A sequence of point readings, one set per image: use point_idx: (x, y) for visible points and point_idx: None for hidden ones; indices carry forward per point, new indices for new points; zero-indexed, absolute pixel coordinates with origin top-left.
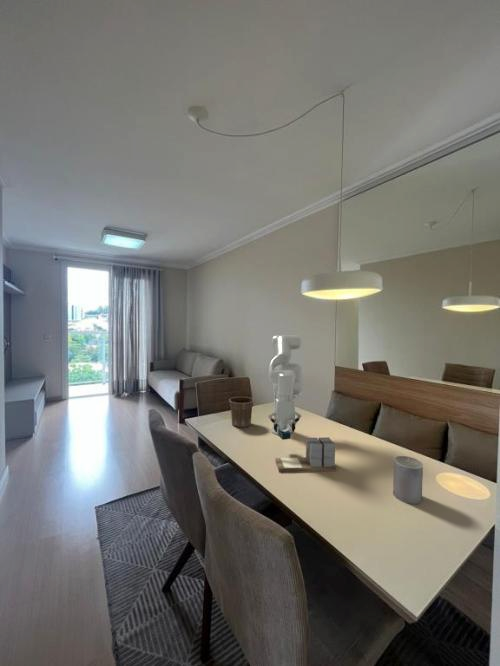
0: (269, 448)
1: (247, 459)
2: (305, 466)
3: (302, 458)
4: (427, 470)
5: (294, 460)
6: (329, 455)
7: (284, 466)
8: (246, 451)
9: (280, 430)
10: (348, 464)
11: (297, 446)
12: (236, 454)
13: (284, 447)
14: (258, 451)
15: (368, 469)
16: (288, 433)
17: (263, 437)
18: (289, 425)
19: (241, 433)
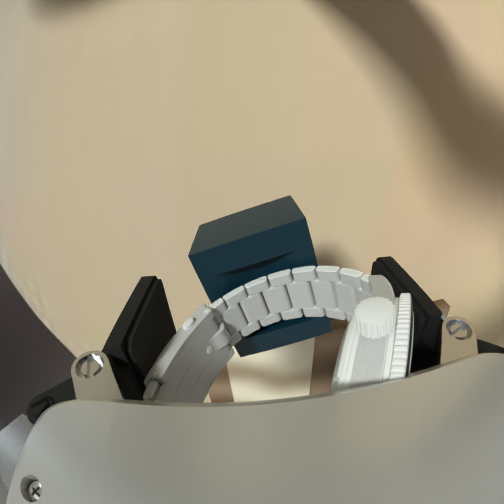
0: (158, 177)
1: (73, 313)
2: (324, 388)
3: (339, 336)
4: None
5: (291, 361)
6: None
7: (235, 400)
8: (46, 234)
9: (220, 286)
10: (474, 317)
11: (364, 139)
12: (23, 268)
13: (269, 152)
14: (97, 228)
15: (491, 333)
16: (307, 334)
17: (132, 10)
18: (367, 296)
19: (27, 13)
